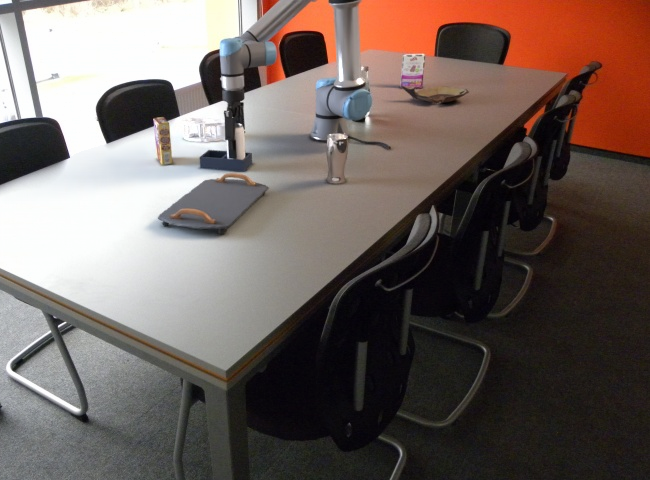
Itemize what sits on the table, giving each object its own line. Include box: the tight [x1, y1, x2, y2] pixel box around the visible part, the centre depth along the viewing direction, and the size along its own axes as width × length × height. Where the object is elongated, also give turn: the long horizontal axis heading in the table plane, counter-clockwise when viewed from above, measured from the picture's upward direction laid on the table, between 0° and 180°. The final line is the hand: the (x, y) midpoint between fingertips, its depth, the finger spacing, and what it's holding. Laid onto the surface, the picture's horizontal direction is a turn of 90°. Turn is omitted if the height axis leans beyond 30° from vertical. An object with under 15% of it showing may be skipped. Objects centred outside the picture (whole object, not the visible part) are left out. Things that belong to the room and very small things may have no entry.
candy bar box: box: [400, 53, 426, 89], centre depth 315 cm, size 11×5×16 cm, turn 80°
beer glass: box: [325, 133, 349, 185], centre depth 200 cm, size 7×7×15 cm
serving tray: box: [157, 172, 270, 236], centre depth 184 cm, size 39×23×6 cm, turn 158°
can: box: [225, 123, 246, 160], centre depth 215 cm, size 6×6×12 cm
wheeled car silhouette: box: [181, 117, 226, 143], centre depth 250 cm, size 20×11×7 cm, turn 66°
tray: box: [198, 149, 253, 173], centre depth 220 cm, size 17×9×4 cm, turn 71°
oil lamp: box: [400, 85, 470, 104], centre depth 291 cm, size 22×30×8 cm
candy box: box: [153, 116, 173, 166], centre depth 224 cm, size 9×4×15 cm, turn 20°
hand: (236, 154), depth 217 cm, fingers closed on can, 6 cm apart
